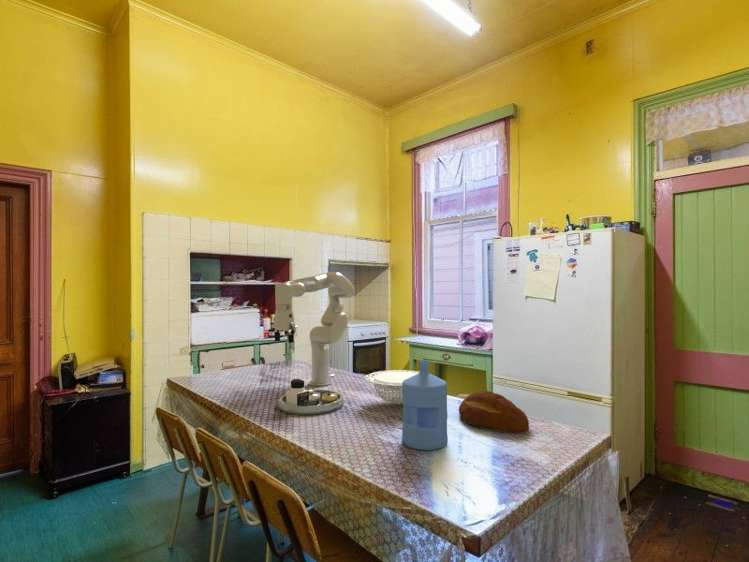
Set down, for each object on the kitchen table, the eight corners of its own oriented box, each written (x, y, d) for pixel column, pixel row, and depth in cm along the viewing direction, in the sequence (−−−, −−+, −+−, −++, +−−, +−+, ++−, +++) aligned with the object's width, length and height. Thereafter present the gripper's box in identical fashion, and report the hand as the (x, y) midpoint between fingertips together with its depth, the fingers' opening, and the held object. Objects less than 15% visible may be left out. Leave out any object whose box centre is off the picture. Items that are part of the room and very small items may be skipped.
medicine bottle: (297, 410, 178) (297, 382, 178) (286, 407, 182) (286, 379, 182) (309, 406, 183) (309, 379, 183) (298, 403, 188) (298, 376, 188)
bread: (504, 442, 144) (503, 406, 145) (443, 416, 173) (443, 386, 173) (544, 431, 155) (544, 398, 155) (481, 408, 183) (481, 380, 183)
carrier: (312, 393, 210) (312, 382, 210) (356, 403, 192) (356, 391, 192) (265, 407, 186) (265, 394, 187) (310, 419, 169) (310, 405, 169)
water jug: (418, 431, 155) (417, 355, 155) (456, 441, 145) (455, 360, 145) (393, 443, 143) (392, 362, 143) (432, 455, 133) (431, 367, 133)
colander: (426, 419, 169) (426, 387, 169) (354, 411, 179) (353, 382, 179) (440, 398, 199) (440, 372, 199) (377, 393, 209) (377, 368, 209)
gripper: (301, 307, 207) (302, 341, 207) (277, 306, 217) (278, 339, 217) (290, 308, 201) (291, 344, 201) (265, 307, 211) (266, 341, 211)
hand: (284, 341), depth 209 cm, fingers open, 9 cm apart
